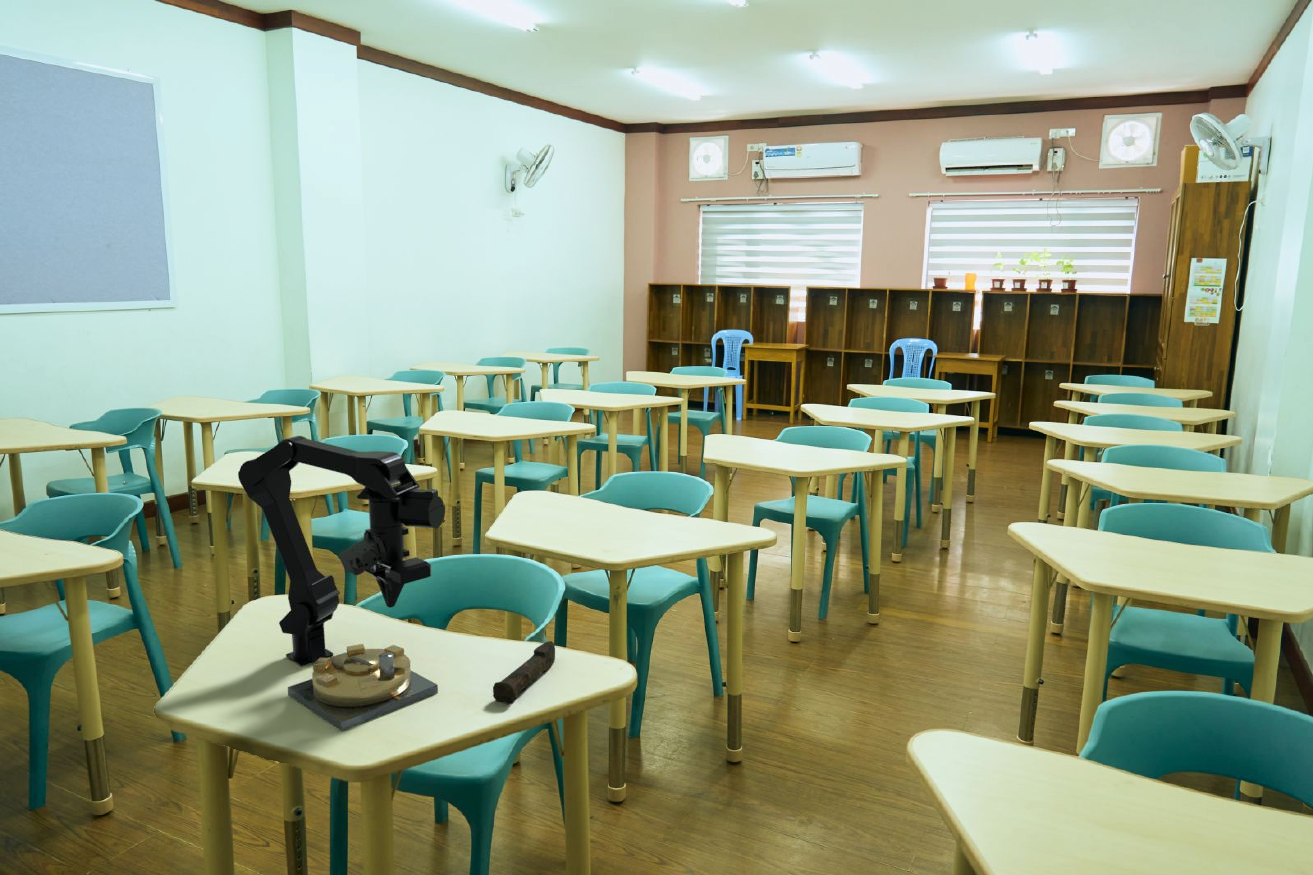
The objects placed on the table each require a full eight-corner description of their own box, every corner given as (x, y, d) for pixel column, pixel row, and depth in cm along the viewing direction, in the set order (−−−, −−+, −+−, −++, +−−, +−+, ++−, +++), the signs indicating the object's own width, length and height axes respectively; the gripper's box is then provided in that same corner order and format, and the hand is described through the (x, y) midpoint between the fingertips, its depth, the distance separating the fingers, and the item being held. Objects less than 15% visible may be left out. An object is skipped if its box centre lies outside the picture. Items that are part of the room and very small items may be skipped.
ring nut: (293, 689, 151) (290, 651, 149) (370, 656, 164) (368, 621, 162) (354, 716, 142) (351, 675, 141) (430, 678, 155) (428, 641, 154)
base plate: (288, 695, 152) (287, 686, 152) (381, 662, 166) (381, 653, 165) (341, 731, 141) (341, 721, 140) (437, 692, 154) (437, 683, 153)
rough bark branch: (511, 707, 149) (511, 681, 149) (491, 702, 151) (491, 677, 150) (567, 663, 166) (567, 640, 166) (548, 659, 168) (548, 636, 167)
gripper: (317, 522, 158) (323, 605, 161) (373, 544, 146) (378, 633, 149) (374, 511, 166) (378, 590, 169) (431, 530, 154) (434, 615, 157)
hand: (390, 606), depth 161 cm, fingers closed
